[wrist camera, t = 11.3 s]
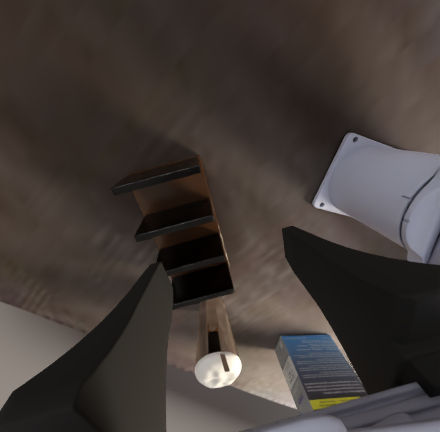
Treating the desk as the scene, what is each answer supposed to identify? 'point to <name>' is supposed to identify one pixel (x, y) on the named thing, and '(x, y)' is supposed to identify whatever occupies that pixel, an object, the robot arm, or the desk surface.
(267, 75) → the desk surface
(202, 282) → the letter rack
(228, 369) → the milkshake
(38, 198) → the desk surface
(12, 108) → the desk surface
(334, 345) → the label tape box
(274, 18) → the desk surface
